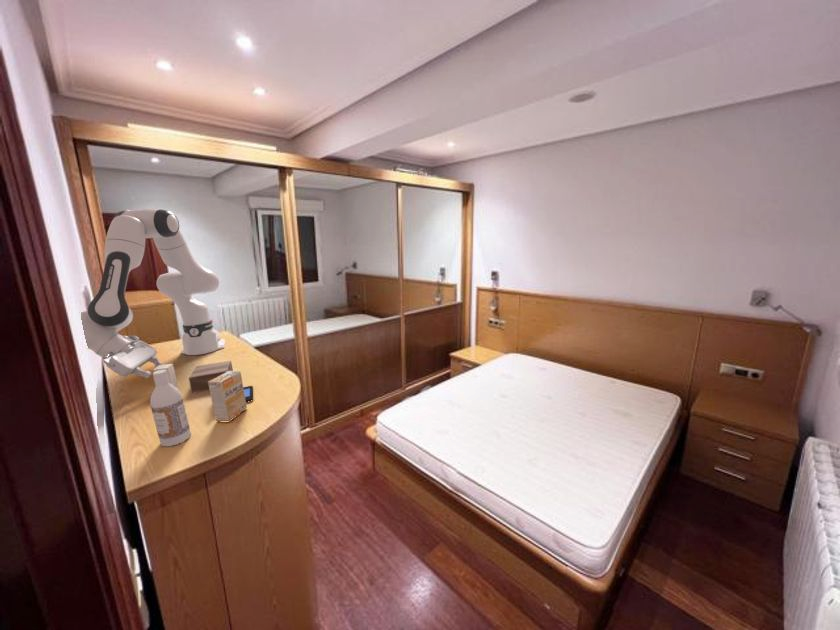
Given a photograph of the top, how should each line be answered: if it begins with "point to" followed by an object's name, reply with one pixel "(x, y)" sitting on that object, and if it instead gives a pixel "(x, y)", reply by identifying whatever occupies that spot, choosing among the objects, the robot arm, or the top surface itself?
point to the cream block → (168, 373)
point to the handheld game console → (248, 393)
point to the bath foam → (168, 411)
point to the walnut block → (207, 375)
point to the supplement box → (227, 395)
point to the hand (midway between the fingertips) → (156, 371)
